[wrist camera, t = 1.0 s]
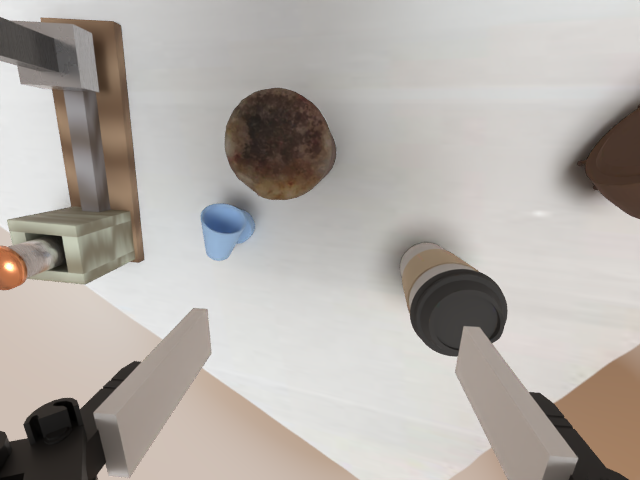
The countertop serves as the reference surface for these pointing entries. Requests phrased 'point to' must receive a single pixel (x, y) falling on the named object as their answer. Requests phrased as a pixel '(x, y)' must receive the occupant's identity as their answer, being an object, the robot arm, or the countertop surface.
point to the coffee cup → (449, 298)
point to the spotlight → (225, 229)
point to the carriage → (50, 54)
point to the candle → (279, 144)
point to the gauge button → (29, 259)
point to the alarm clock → (618, 165)
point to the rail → (108, 122)
